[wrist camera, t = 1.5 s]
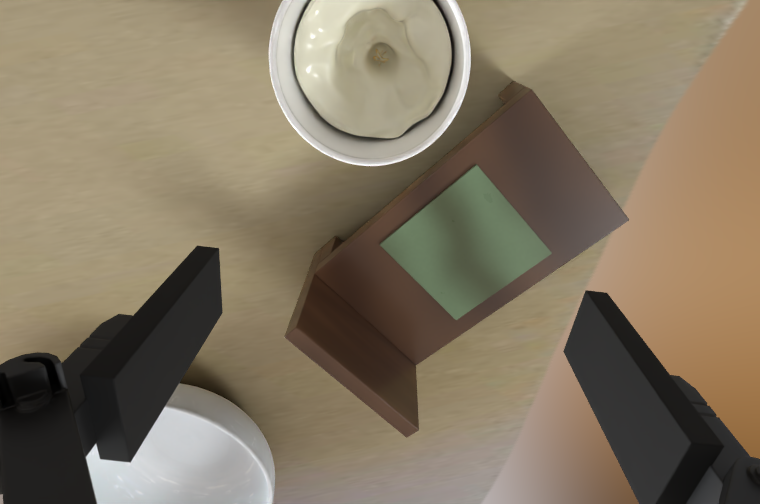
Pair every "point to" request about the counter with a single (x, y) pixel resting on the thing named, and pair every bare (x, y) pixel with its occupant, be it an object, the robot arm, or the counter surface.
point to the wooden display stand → (450, 254)
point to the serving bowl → (191, 457)
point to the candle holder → (370, 74)
